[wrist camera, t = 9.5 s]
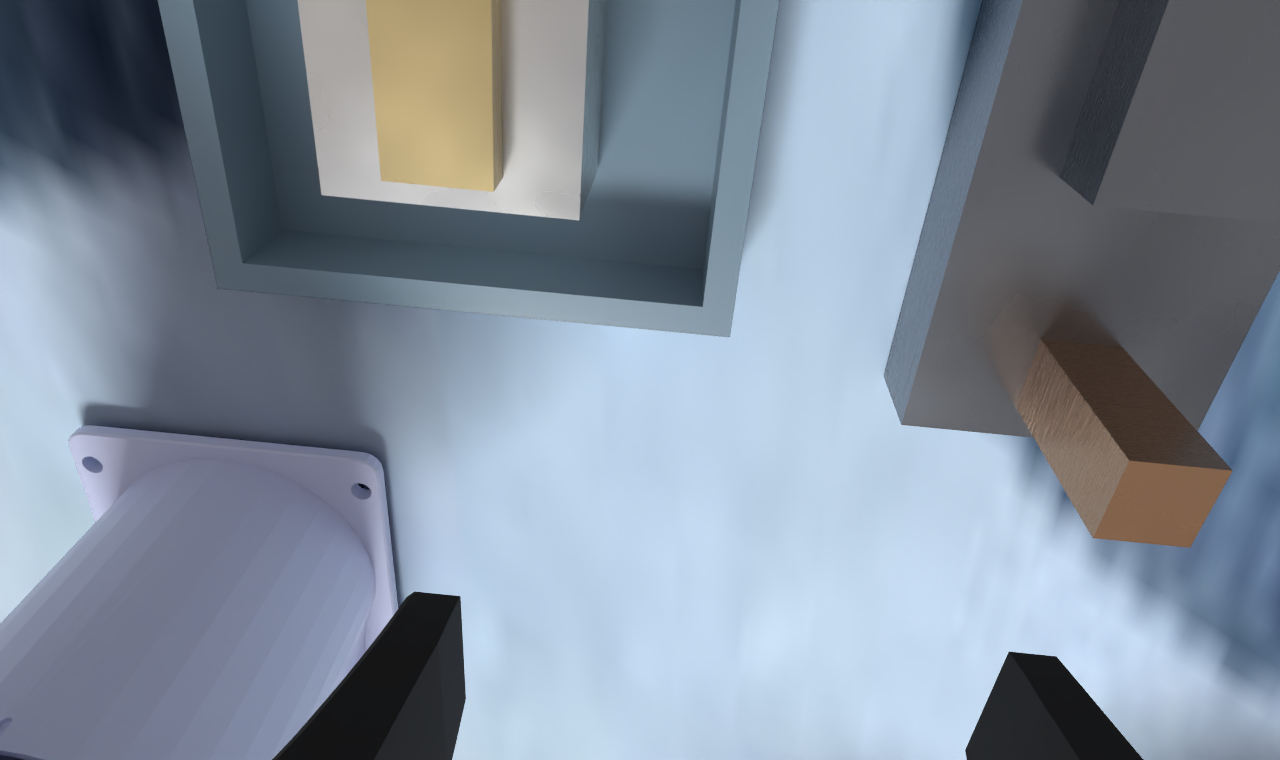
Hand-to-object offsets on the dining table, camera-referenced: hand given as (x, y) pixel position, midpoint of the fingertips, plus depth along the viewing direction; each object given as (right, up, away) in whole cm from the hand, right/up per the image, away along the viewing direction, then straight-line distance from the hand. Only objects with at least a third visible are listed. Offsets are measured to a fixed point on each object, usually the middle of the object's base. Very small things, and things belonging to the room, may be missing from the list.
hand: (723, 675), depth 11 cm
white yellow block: (-4, +11, +4) cm, 12 cm away
